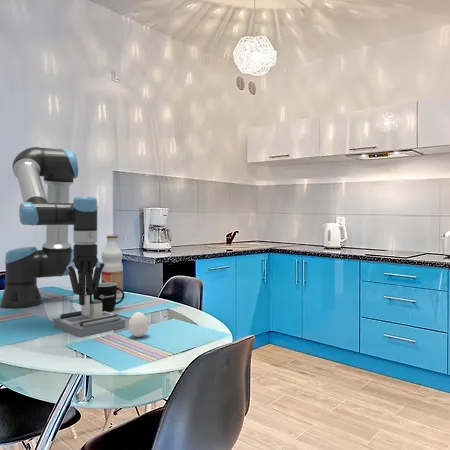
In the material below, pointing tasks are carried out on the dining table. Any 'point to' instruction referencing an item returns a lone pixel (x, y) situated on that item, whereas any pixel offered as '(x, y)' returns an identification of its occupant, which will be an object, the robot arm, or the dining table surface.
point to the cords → (92, 321)
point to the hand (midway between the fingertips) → (85, 314)
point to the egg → (138, 324)
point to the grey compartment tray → (74, 328)
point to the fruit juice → (112, 264)
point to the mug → (107, 295)
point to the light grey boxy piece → (95, 309)
